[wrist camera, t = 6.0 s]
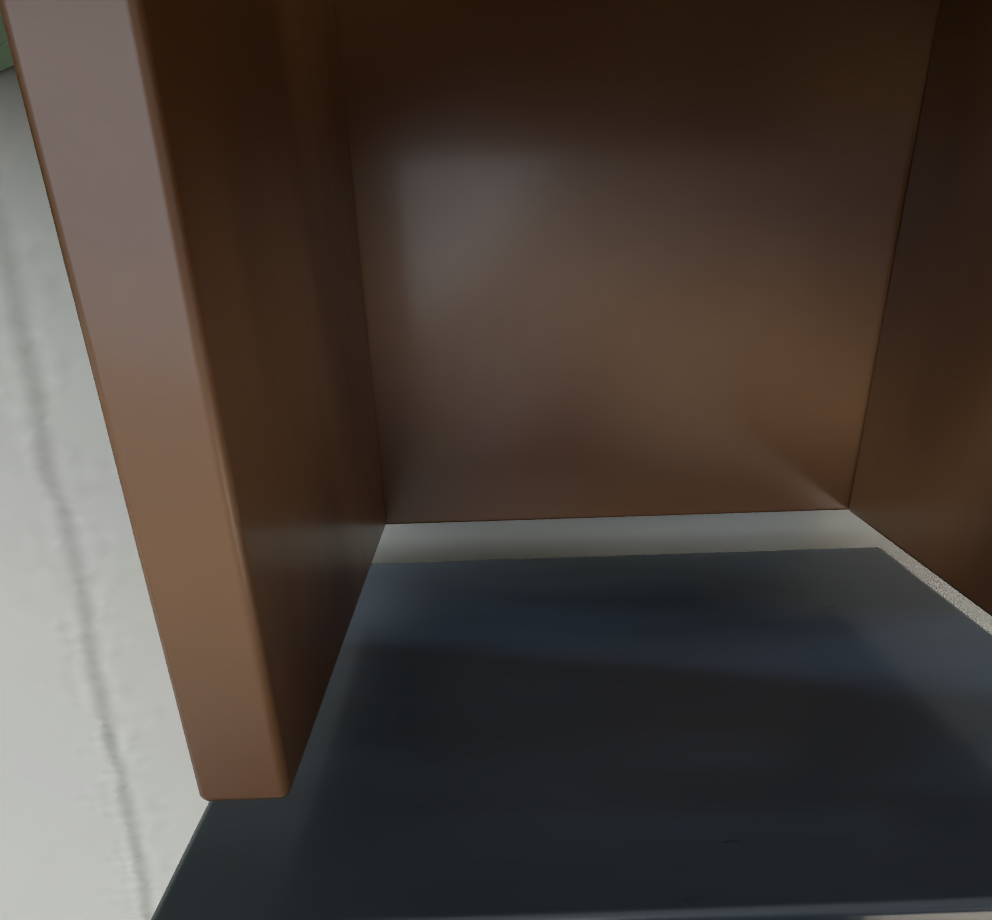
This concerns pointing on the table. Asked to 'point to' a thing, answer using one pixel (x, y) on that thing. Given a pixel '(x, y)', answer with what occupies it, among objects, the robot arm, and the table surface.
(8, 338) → the table surface
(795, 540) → the table surface
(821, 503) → the drawer
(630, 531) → the table surface
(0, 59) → the pot
